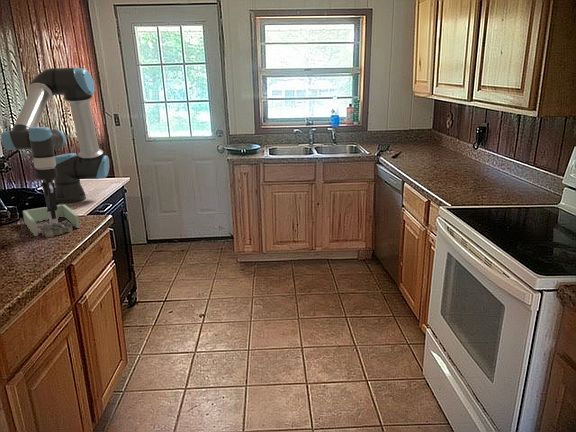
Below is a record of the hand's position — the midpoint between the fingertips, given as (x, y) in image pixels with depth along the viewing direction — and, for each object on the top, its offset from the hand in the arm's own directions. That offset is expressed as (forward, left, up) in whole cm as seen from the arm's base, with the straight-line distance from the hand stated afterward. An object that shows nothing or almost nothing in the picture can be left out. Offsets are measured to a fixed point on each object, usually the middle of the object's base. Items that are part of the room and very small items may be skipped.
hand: (54, 226), depth 180 cm
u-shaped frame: (-7, 0, -2) cm, 7 cm away
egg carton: (+5, 0, -2) cm, 5 cm away
